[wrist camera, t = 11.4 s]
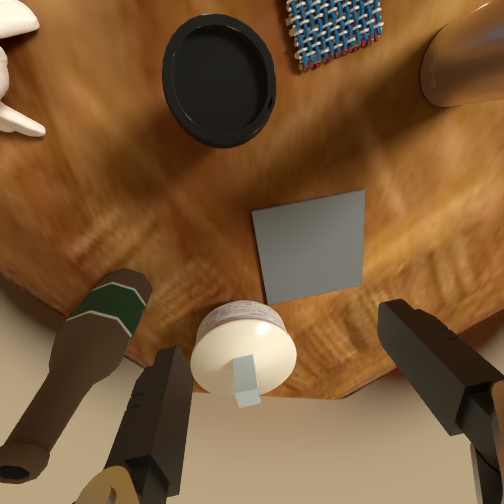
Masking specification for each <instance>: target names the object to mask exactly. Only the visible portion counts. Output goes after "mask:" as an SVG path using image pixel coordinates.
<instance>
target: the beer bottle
mask: <svg viewBox="0 0 504 504" xmlns="http://www.w3.org/2000/svg"><path fill="white" fill-rule="evenodd" d="M151 292H152V287H151V285H150V284H149V282H148V281H147V279H146V278H145V276H144V275H143V274H141V273H138V272H135V271H132V270H129V269H126V268H123V269H121V270H118V271H115V272H112V273H110V274H107V275H106V276H105V277H104V278H103V279H101V280H100V282H99V283H98V284H97V285H96V286H95V287H94V289H93V290H92V291H91V292H90V293H89V294H88V296H87V297H86V298H85V299H84V300H83V301H82V303H81V304H80V305H79V306H78V307H77V308H76V309H75V311H74V312H73V313H72V314H71V315H70V316H69V318H68V319H67V320H66V321H65V323H64V324H63V325H62V327H61V328H60V330H59V331H58V333H57V334H56V337H55V341H54V344H53V347H52V352H51V356H50V361H49V374H48V376H47V378H46V380H45V381H44V383H43V384H42V386H41V388H40V389H39V391H38V392H37V394H36V395H35V397H34V399H33V400H32V402H31V403H30V405H29V406H28V408H27V409H26V411H25V412H24V414H23V415H22V417H21V419H20V420H19V422H18V423H17V425H16V426H15V428H14V429H13V431H12V433H11V434H10V436H9V437H8V439H7V440H6V442H5V443H4V445H3V446H1V447H0V482H1V483H11V484H21V483H24V482H27V481H30V480H33V479H36V478H37V477H38V476H39V475H40V473H41V472H42V471H43V470H44V469H45V467H46V466H47V464H48V460H49V457H50V454H49V453H50V451H51V450H52V448H53V446H54V445H55V443H56V441H57V439H58V438H59V436H60V435H61V433H62V432H63V430H64V428H65V427H66V425H67V423H68V421H69V420H70V418H71V417H72V415H73V414H74V412H75V410H76V409H77V407H78V405H79V404H80V402H81V401H82V399H83V397H84V396H85V395H86V393H87V392H88V391H89V390H90V388H91V387H92V385H93V384H95V383H96V382H99V381H100V380H102V379H104V378H106V377H107V376H109V375H110V374H111V373H112V372H113V371H114V370H115V369H116V368H117V367H118V366H119V364H120V362H121V360H122V359H123V357H124V355H125V353H126V351H127V348H128V346H129V344H130V342H131V340H132V337H133V335H134V333H135V331H136V328H137V326H138V324H139V322H140V320H141V317H142V315H143V313H144V311H145V308H146V306H147V303H148V300H149V298H150V295H151Z"/></svg>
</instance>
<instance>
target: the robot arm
mask: <svg viewBox="0 0 504 504" xmlns="http://www.w3.org/2000/svg"><path fill="white" fill-rule="evenodd" d="M420 82H421V88H422V91H423V94H424V96H425V97H426V99H427V100H428V101H429V102H430V103H432V104H433V105H435V106H438V107H451V106H458V105H465V104H473V103H480V102H488V101H495V100H502V99H504V0H494V1H492V2H490V3H487V4H485V5H483V6H481V7H480V8H478V9H476V10H474V11H472V12H470V13H468V14H466V15H464V16H462V17H460V18H458V19H456V20H454V21H452V22H451V23H449V24H448V25H446V26H445V27H444V28H443V29H442V30H441V31H440V32H439V33H438V34H437V35H436V36H435V38H434V39H433V40H432V42H431V43H430V45H429V47H428V49H427V51H426V53H425V56H424V58H423V61H422V66H421V71H420ZM377 333H378V338H379V341H380V343H381V345H382V346H383V348H384V349H385V351H386V352H387V353H388V355H389V356H390V357H391V359H392V360H393V361H394V363H395V364H396V365H397V367H398V368H399V369H400V370H401V372H402V373H403V374H404V376H405V377H406V378H407V380H408V381H409V382H410V384H411V385H412V386H413V388H414V389H415V390H416V392H417V393H418V394H419V396H420V397H421V398H422V400H423V401H424V402H425V404H426V405H427V406H428V407H429V409H430V410H431V412H432V413H433V414H434V416H435V417H436V418H437V419H438V421H439V422H440V424H441V425H442V426H443V427H444V429H445V430H446V432H447V433H448V434H449V436H453V435H458V434H462V433H464V434H465V435H466V436H467V438H468V439H469V440H470V441H471V445H470V450H471V458H472V465H473V474H474V482H475V489H476V496H477V504H504V375H503V374H502V373H501V372H499V371H498V370H497V369H496V368H495V367H493V366H492V365H491V364H490V363H489V362H488V361H486V360H485V359H484V358H483V357H482V356H481V355H479V354H478V353H477V352H476V351H475V350H474V349H472V348H471V347H470V346H469V345H468V344H467V343H465V342H464V341H463V340H462V339H459V338H458V336H457V335H456V334H455V333H454V332H452V331H451V330H449V329H448V327H447V326H445V325H444V324H443V323H442V322H441V321H440V320H438V319H437V318H436V317H435V316H433V315H431V314H429V313H427V312H425V311H423V310H421V309H416V310H414V309H413V308H412V307H411V306H410V305H409V304H407V303H406V302H405V301H404V300H402V299H395V300H391V301H386V302H382V303H380V304H379V308H378V327H377ZM192 391H193V377H192V372H191V370H190V367H189V365H188V363H187V360H186V358H185V356H184V354H183V351H182V349H181V347H180V346H174V347H170V348H165V349H160V350H159V351H158V352H157V355H156V358H155V361H154V364H153V366H149V367H146V368H145V370H144V371H143V372H142V374H141V375H140V376H139V378H138V379H137V381H136V383H135V386H134V389H133V391H132V394H131V398H130V400H129V402H128V405H127V410H126V411H125V413H124V416H123V419H122V421H121V424H120V427H119V430H118V432H117V435H116V438H115V440H114V443H113V446H112V449H111V451H110V454H109V457H108V460H107V462H106V464H105V467H104V469H103V471H101V472H100V473H99V474H97V475H96V476H95V477H94V478H93V479H92V480H91V481H90V482H89V483H88V484H87V485H86V486H85V488H84V489H83V490H82V492H81V493H80V495H79V497H78V499H77V500H76V501H75V502H74V503H72V504H166V499H167V497H171V496H175V495H179V491H180V482H181V475H182V468H183V459H184V452H185V444H186V437H187V428H188V421H189V414H190V406H191V398H192Z"/></svg>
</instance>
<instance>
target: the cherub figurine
mask: <svg viewBox="0 0 504 504" xmlns="http://www.w3.org/2000/svg"><path fill="white" fill-rule="evenodd" d="M38 28H39V23H38V20H37V18H36V16H35V15H34V14H33V12H32V11H31V10H30V9H29V8H28V7H27V6H26V5H24V4H23V3H21V2H20V1H18V0H0V39H2V38H7V37H11V36H15V35H19V34H23V33H28V32H31V31H34V30H37V29H38ZM7 60H8V59H7V56H6V54H5V52H4V50H3V49H2V48H1V47H0V100H1V98H2V97H3V96H4V95H5V93H6V92H7V90H8V88H9V73H8V69H7V64H8V61H7ZM0 131H4V132H13V131H17V132H20V133H22V134H25V135H28V136H37V137H40V136H44V135H45V134H46V130H45V128H44V126H43V125H41V124H39V123H37V122H36V121H34V120H32V119H30V118H28V117H26V116H24V115H23V114H21V113H19V112H17V111H15V110H13V109H12V108H10V107H8V106H6V105H4V104H3V103H2V102H1V101H0Z"/></svg>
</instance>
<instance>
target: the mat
mask: <svg viewBox="0 0 504 504" xmlns="http://www.w3.org/2000/svg"><path fill="white" fill-rule="evenodd" d="M364 209H365V190H364V189H361V190H356V191H351V192H346V193H341V194H336V195H331V196H326V197H320V198H315V199H310V200H305V201H300V202H295V203H290V204H285V205H280V206H275V207H270V208H265V209H259V210H254V211H252V217H253V223H254V229H255V234H256V240H257V246H258V252H259V257H260V263H261V269H262V275H263V280H264V286H265V292H266V298H267V303H268V305H271V304H275V303H280V302H285V301H290V300H295V299H299V298H304V297H309V296H314V295H319V294H323V293H328V292H333V291H338V290H343V289H347V288H352V287H357V286H362V266H363V238H364Z"/></svg>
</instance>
